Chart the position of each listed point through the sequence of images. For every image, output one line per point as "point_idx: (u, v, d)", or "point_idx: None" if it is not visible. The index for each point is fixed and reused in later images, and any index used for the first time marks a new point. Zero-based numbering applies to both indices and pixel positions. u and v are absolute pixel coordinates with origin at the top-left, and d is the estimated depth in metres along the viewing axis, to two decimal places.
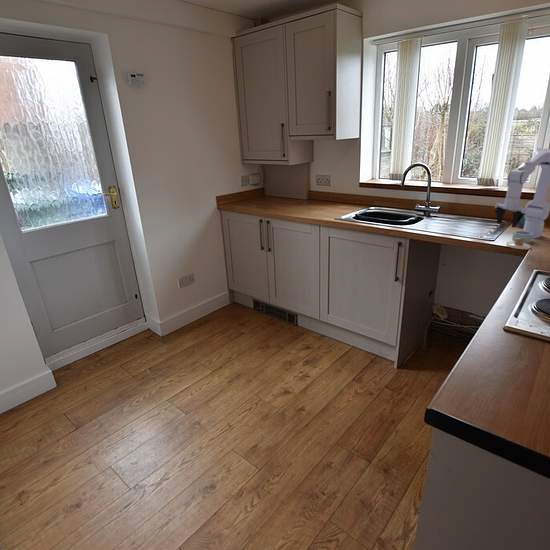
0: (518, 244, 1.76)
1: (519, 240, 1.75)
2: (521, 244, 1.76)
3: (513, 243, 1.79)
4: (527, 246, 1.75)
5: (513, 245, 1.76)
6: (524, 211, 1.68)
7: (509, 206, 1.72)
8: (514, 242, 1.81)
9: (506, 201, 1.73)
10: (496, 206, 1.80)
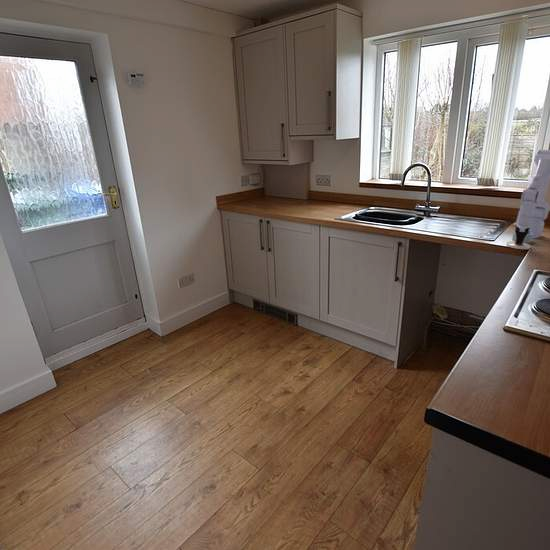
0: (518, 244, 1.76)
1: None
2: (521, 244, 1.76)
3: (513, 243, 1.79)
4: (527, 246, 1.75)
5: (513, 245, 1.76)
6: (521, 229, 1.69)
7: (516, 223, 1.74)
8: (514, 242, 1.81)
9: None
10: None
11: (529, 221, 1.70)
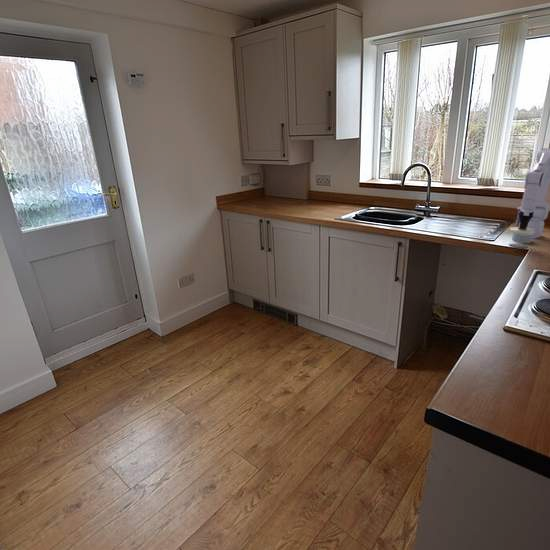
0: (522, 229, 1.73)
1: None
2: (525, 229, 1.73)
3: (517, 228, 1.76)
4: (531, 231, 1.72)
5: (517, 230, 1.73)
6: (525, 213, 1.66)
7: (520, 207, 1.71)
8: (518, 227, 1.78)
9: None
10: None
11: (533, 205, 1.68)
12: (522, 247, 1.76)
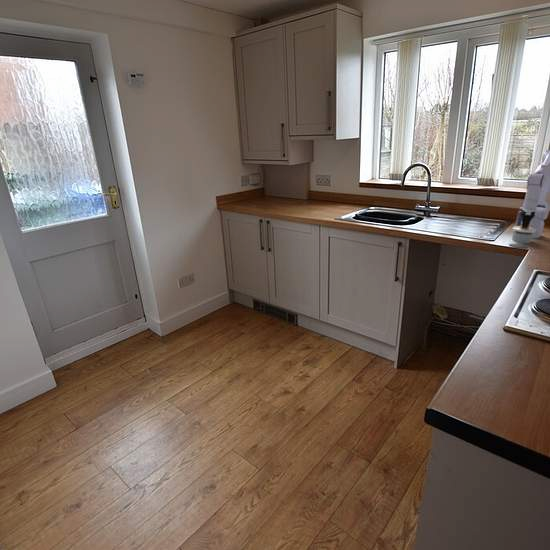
0: (524, 228, 1.82)
1: None
2: (527, 228, 1.82)
3: (519, 227, 1.85)
4: (533, 230, 1.81)
5: (519, 229, 1.83)
6: (527, 213, 1.75)
7: (523, 207, 1.80)
8: (520, 226, 1.87)
9: None
10: None
11: (535, 205, 1.77)
12: (522, 247, 1.76)
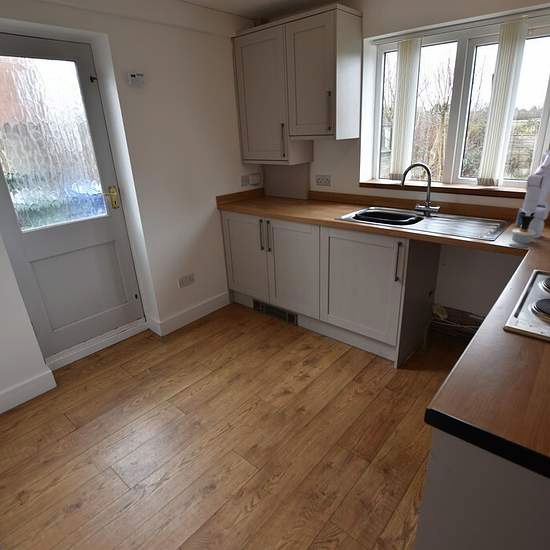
0: (523, 230, 1.83)
1: None
2: (526, 230, 1.83)
3: (518, 230, 1.86)
4: (532, 232, 1.82)
5: (518, 231, 1.83)
6: (527, 214, 1.75)
7: (522, 208, 1.81)
8: (519, 229, 1.88)
9: None
10: None
11: (534, 206, 1.77)
12: (522, 247, 1.76)
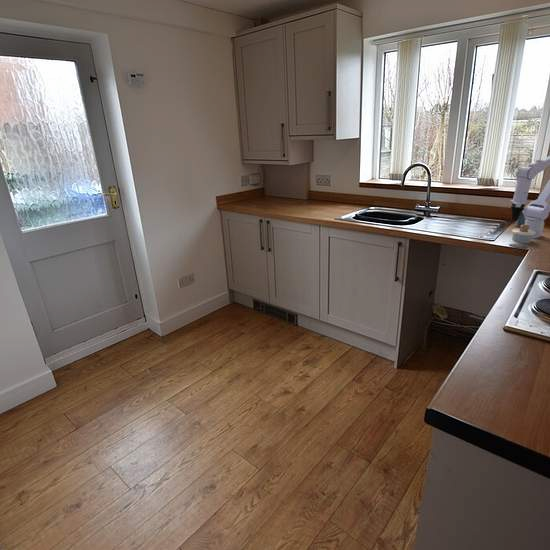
0: (523, 230, 1.83)
1: (524, 227, 1.82)
2: (526, 230, 1.83)
3: (518, 230, 1.86)
4: (532, 232, 1.82)
5: (518, 231, 1.83)
6: (517, 205, 1.78)
7: (513, 200, 1.83)
8: (519, 229, 1.88)
9: None
10: None
11: (525, 197, 1.79)
12: (522, 247, 1.76)
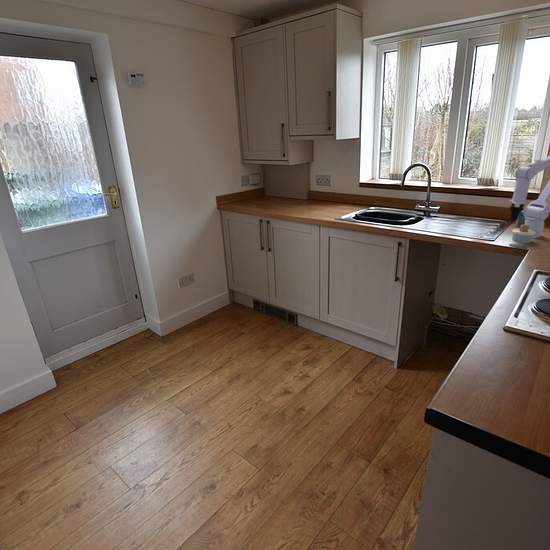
0: (523, 230, 1.83)
1: (524, 227, 1.82)
2: (526, 230, 1.83)
3: (518, 230, 1.86)
4: (532, 232, 1.82)
5: (518, 231, 1.83)
6: (516, 205, 1.78)
7: (512, 200, 1.83)
8: (519, 229, 1.88)
9: None
10: None
11: (524, 197, 1.80)
12: (522, 247, 1.76)
